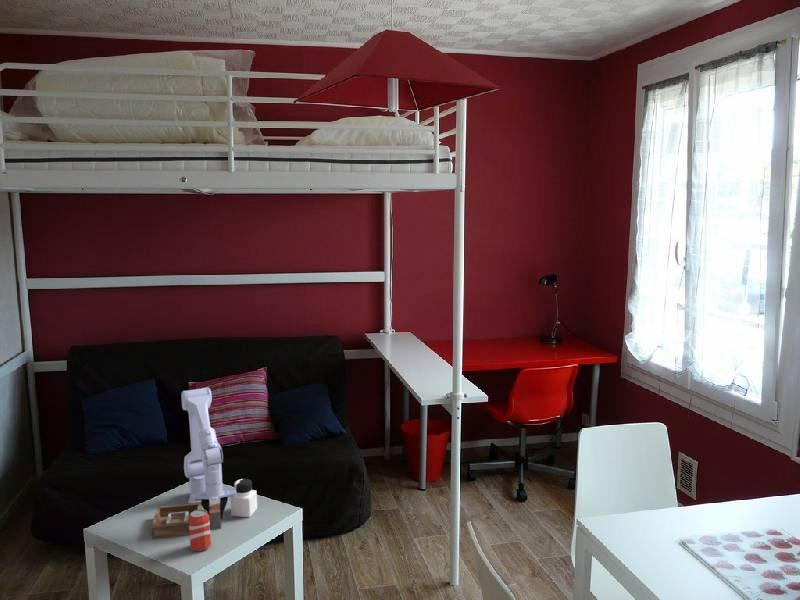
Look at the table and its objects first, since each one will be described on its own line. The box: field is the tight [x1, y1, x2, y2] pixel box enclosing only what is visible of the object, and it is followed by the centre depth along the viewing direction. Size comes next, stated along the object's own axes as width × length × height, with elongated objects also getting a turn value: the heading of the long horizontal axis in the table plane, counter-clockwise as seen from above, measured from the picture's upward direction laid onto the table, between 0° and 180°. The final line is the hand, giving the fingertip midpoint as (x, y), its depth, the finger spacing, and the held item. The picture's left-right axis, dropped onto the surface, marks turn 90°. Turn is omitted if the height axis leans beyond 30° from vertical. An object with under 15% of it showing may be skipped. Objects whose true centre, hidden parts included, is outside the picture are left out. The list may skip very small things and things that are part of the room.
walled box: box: [150, 502, 203, 540], centre depth 231 cm, size 15×15×4 cm
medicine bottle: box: [230, 478, 258, 518], centre depth 239 cm, size 7×7×12 cm
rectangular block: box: [209, 502, 223, 531], centre depth 230 cm, size 5×4×7 cm
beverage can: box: [189, 508, 212, 552], centre depth 215 cm, size 6×6×12 cm
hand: (215, 518), depth 230 cm, fingers closed on rectangular block, 3 cm apart
